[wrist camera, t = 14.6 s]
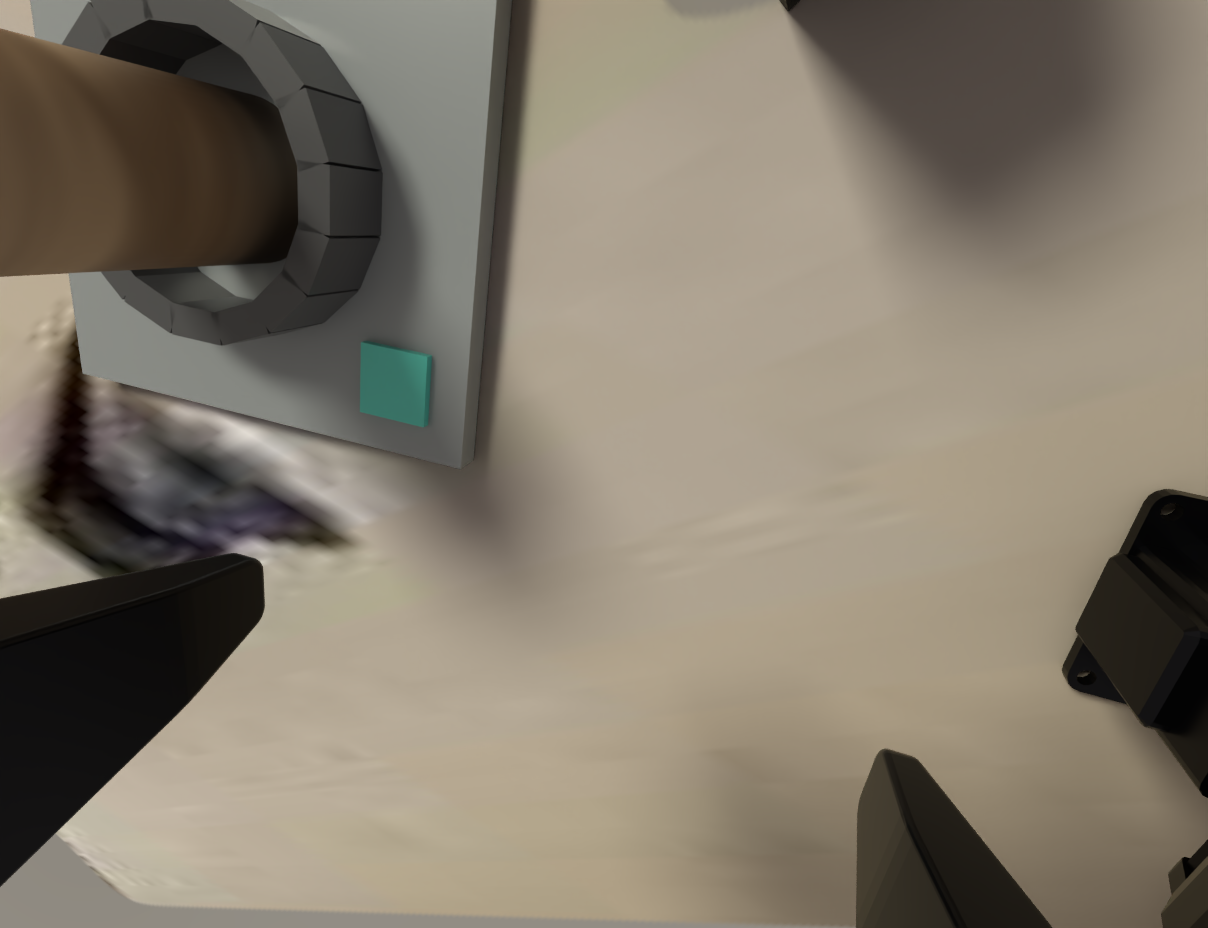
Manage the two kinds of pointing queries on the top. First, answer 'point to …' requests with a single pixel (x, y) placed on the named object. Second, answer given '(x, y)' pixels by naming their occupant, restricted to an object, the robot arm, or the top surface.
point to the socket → (324, 217)
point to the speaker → (789, 3)
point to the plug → (134, 167)
